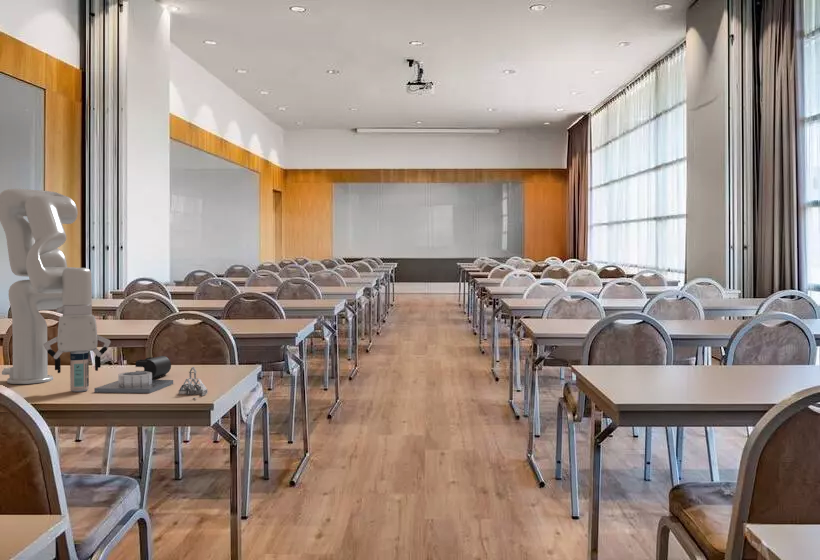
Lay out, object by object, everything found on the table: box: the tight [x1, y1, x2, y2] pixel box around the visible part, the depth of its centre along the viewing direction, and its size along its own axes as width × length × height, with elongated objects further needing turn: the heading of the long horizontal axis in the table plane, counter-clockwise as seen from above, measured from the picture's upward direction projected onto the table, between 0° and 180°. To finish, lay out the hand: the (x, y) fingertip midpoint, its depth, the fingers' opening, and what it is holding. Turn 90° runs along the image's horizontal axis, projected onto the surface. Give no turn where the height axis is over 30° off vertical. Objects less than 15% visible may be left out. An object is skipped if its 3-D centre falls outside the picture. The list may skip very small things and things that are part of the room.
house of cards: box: [178, 366, 208, 400], centre depth 194 cm, size 9×9×8 cm
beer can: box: [69, 351, 90, 393], centre depth 199 cm, size 5×5×12 cm
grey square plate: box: [93, 370, 174, 394], centre depth 204 cm, size 16×16×4 cm
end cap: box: [135, 355, 172, 380], centre depth 222 cm, size 10×7×7 cm
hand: (78, 371), depth 199 cm, fingers open, 9 cm apart
